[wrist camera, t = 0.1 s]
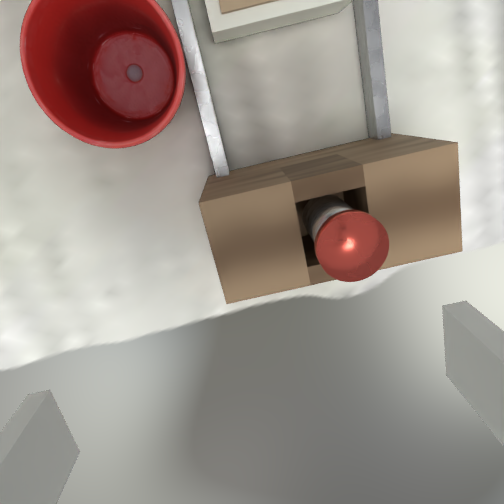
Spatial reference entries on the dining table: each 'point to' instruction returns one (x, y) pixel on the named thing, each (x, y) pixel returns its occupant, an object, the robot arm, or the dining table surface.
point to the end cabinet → (347, 189)
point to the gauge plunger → (345, 238)
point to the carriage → (264, 15)
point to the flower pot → (103, 68)
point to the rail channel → (369, 61)
